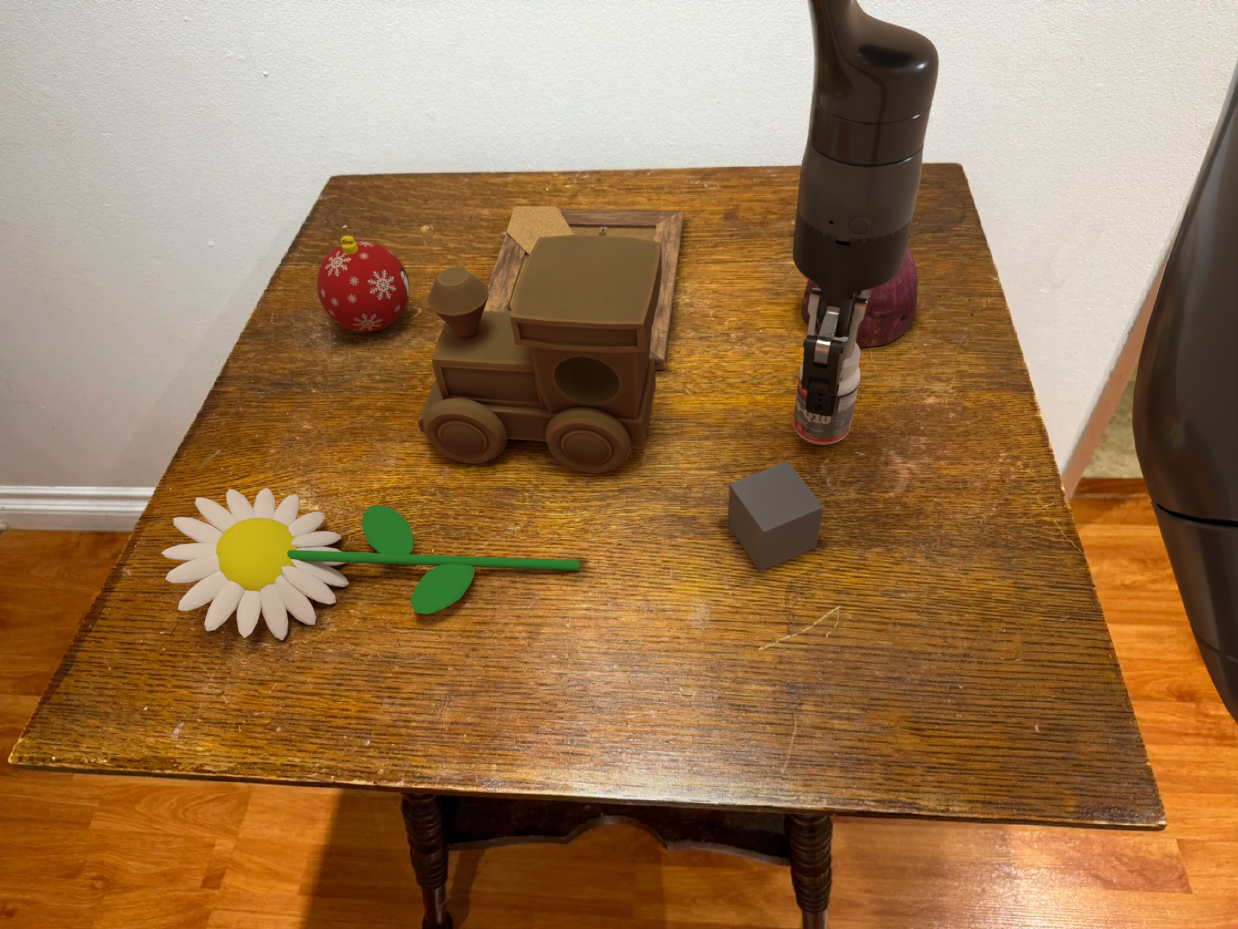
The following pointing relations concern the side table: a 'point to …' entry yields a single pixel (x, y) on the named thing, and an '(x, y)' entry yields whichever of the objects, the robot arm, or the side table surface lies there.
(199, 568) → the decorative flower
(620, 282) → the wooden toy train
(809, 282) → the vegetable
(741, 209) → the side table surface
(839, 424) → the pill bottle
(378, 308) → the christmas ornament
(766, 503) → the grey block
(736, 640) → the side table surface
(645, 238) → the picture frame
